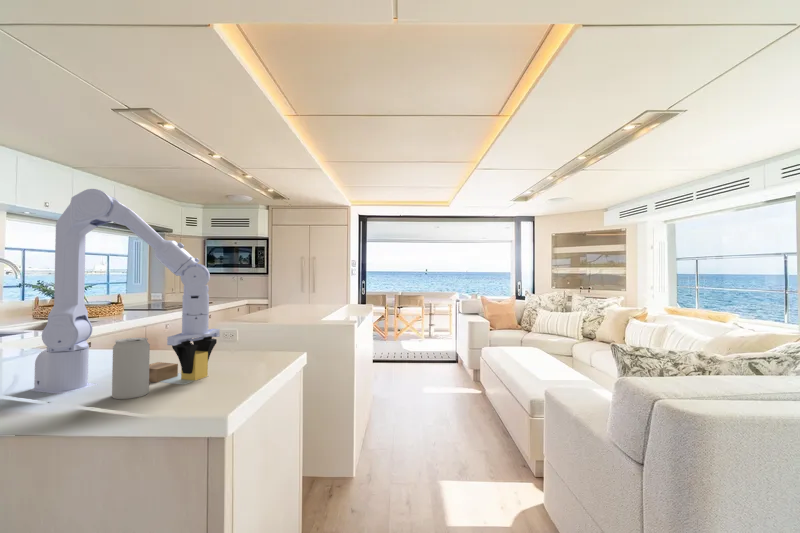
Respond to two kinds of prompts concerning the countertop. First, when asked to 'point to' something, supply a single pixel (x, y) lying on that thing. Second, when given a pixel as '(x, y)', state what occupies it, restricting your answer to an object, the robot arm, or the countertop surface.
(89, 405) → the countertop surface
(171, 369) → the walnut base brick
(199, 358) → the ochre brick
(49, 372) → the robot arm
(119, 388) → the beverage can
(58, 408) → the countertop surface
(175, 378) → the plate
